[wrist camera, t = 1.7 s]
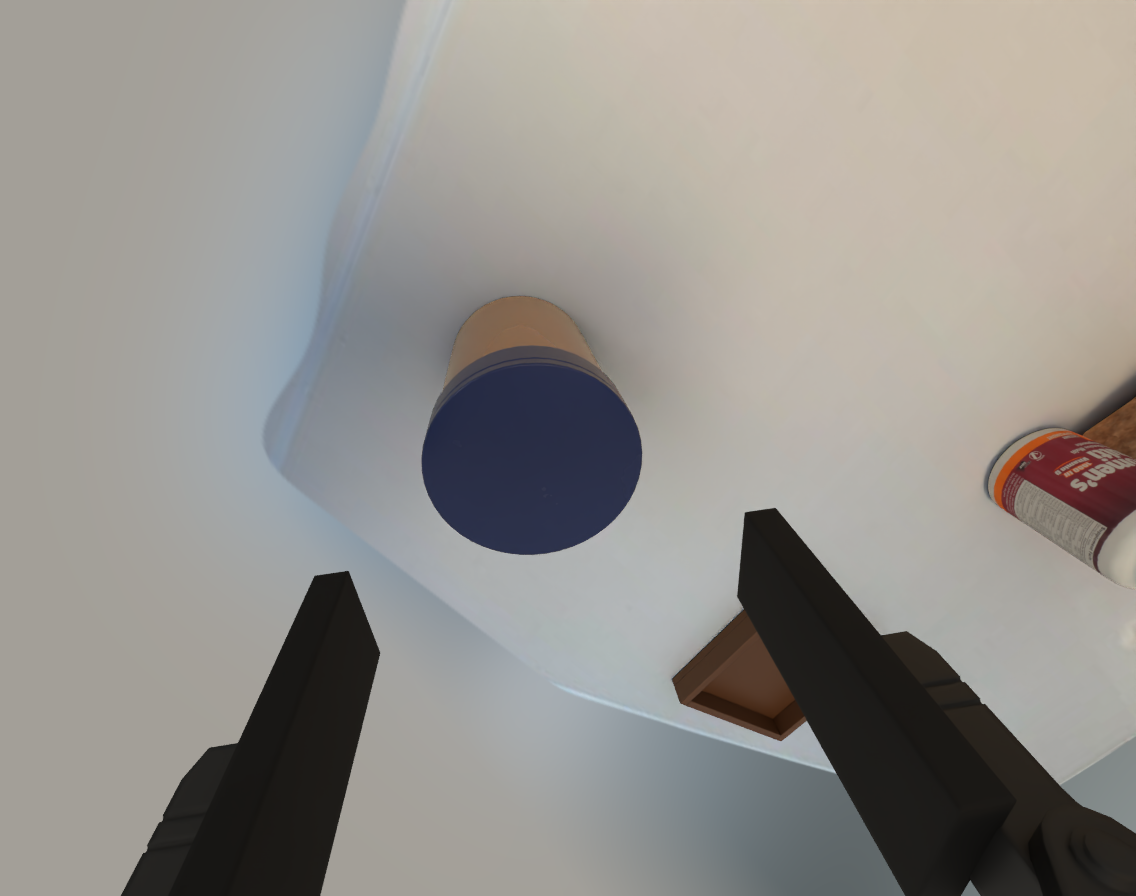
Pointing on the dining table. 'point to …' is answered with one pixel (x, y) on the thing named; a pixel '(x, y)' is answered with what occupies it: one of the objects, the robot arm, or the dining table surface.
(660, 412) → the dining table surface
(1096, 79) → the dining table surface
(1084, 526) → the pill bottle
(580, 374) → the jar lid
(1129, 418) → the bread
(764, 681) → the tray
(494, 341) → the jar
